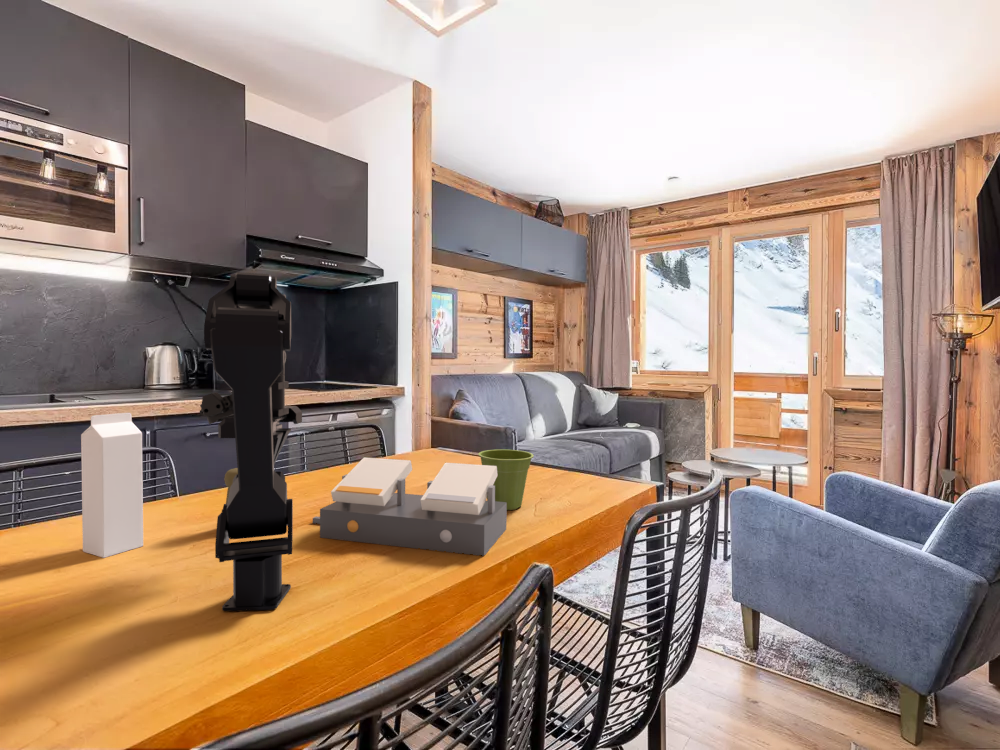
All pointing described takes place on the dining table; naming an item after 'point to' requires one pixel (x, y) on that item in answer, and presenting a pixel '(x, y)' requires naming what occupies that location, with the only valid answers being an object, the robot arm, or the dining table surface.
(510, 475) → the plant pot
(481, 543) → the rocker switch box
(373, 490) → the orange striped rocker plate
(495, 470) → the white rocker
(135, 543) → the milk
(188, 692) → the dining table surface
